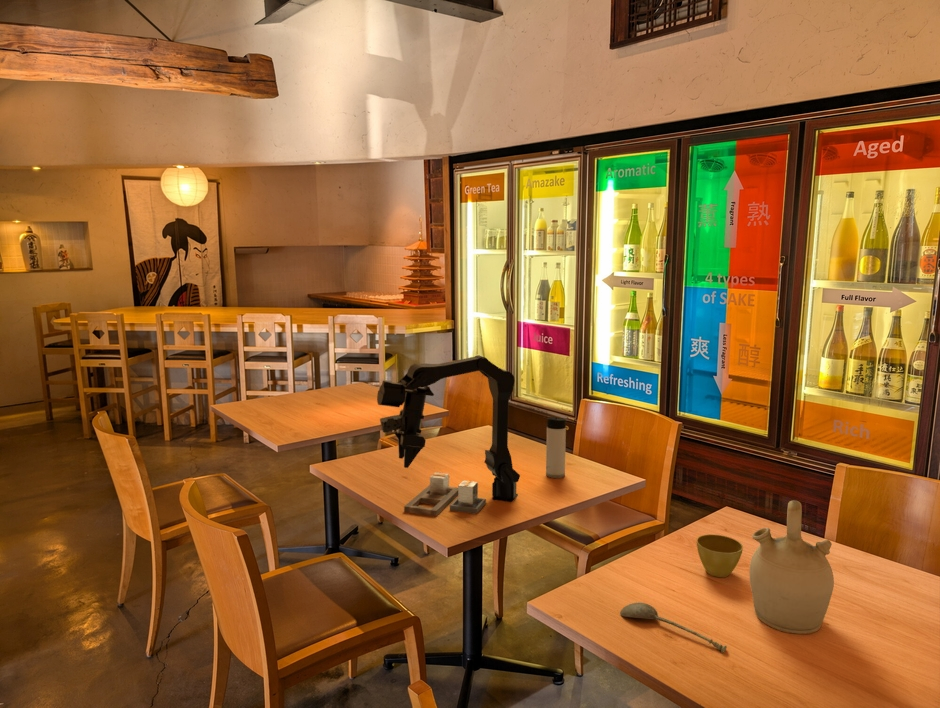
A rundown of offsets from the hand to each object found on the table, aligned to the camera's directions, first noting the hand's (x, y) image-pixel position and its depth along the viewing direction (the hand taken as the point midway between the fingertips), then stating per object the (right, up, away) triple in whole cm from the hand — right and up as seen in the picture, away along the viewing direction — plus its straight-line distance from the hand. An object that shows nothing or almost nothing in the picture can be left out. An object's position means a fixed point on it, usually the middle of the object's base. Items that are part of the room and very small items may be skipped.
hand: (403, 462), depth 184 cm
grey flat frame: (+8, -14, +10) cm, 19 cm away
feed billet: (+18, -14, +7) cm, 24 cm away
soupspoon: (+59, -24, -54) cm, 84 cm away
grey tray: (+18, -14, +7) cm, 24 cm away
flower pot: (+77, -20, -32) cm, 85 cm away
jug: (+83, -23, -51) cm, 101 cm away
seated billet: (+10, -13, +15) cm, 22 cm away
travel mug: (+47, -10, +34) cm, 59 cm away
